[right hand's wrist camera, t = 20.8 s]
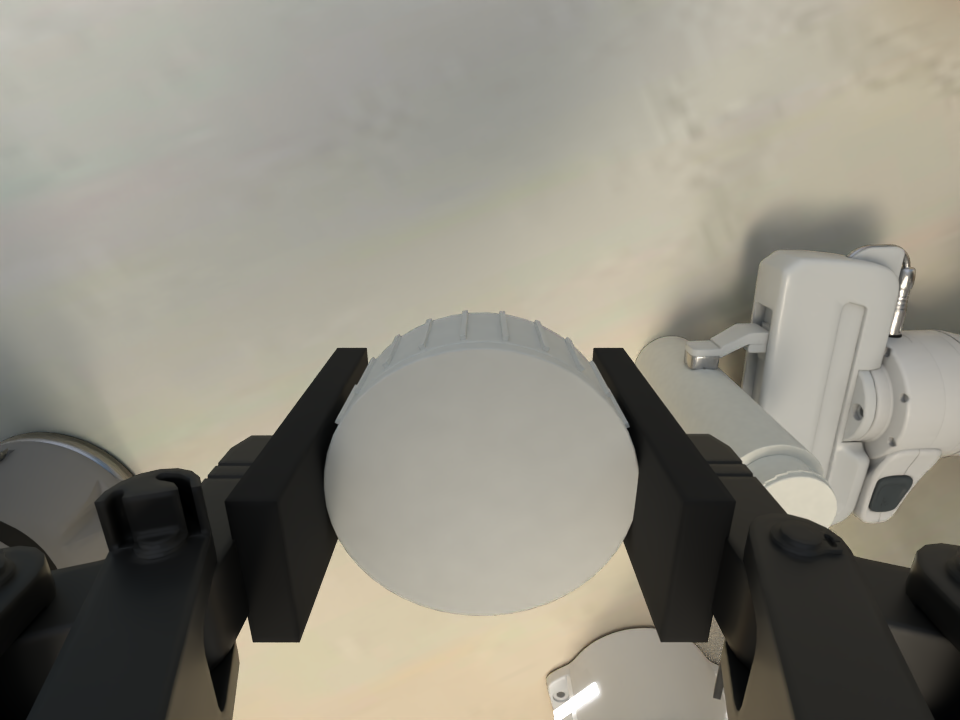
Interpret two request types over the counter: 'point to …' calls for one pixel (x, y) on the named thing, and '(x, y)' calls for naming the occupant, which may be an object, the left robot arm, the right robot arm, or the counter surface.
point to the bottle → (739, 429)
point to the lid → (481, 467)
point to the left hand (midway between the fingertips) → (682, 400)
